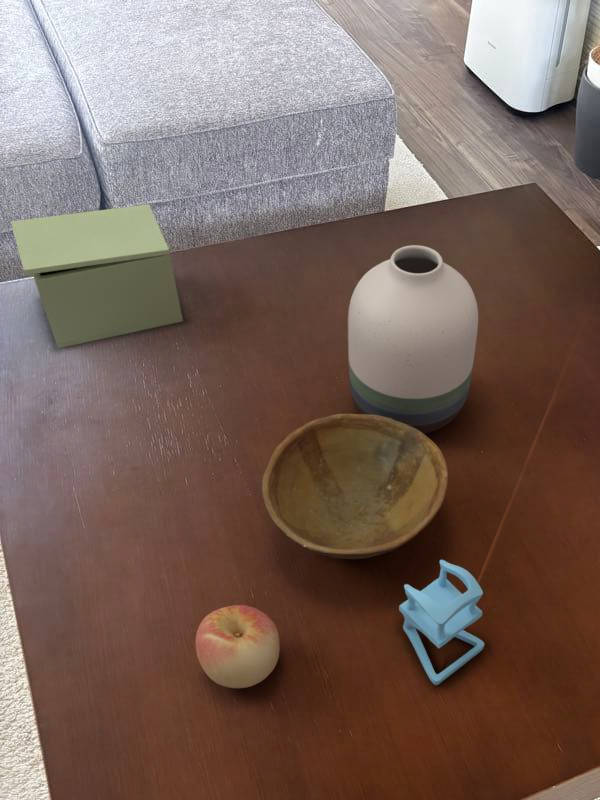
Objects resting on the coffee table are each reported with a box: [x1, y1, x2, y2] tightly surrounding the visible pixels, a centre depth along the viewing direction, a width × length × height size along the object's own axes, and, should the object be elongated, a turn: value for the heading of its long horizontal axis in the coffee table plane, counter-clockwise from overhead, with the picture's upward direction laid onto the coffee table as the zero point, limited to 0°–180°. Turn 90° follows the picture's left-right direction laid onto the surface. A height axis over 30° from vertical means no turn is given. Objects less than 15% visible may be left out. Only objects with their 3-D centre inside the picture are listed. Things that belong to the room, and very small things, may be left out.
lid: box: [10, 203, 171, 276], centre depth 124 cm, size 20×13×1 cm, turn 113°
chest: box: [32, 253, 184, 349], centre depth 130 cm, size 19×13×12 cm
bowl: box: [261, 413, 449, 560], centre depth 105 cm, size 22×23×10 cm
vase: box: [347, 244, 479, 435], centre depth 114 cm, size 17×17×24 cm
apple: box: [195, 604, 281, 689], centre depth 93 cm, size 9×9×8 cm
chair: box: [398, 559, 485, 686], centre depth 94 cm, size 8×8×12 cm
